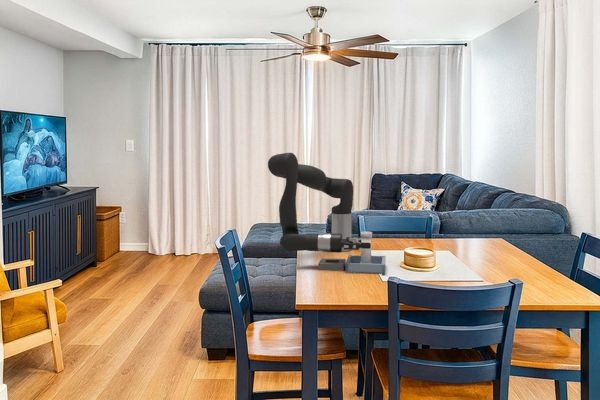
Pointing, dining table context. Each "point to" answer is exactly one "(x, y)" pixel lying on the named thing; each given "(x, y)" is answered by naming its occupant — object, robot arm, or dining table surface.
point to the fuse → (366, 253)
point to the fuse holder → (331, 264)
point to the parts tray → (365, 265)
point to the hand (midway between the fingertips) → (371, 243)
